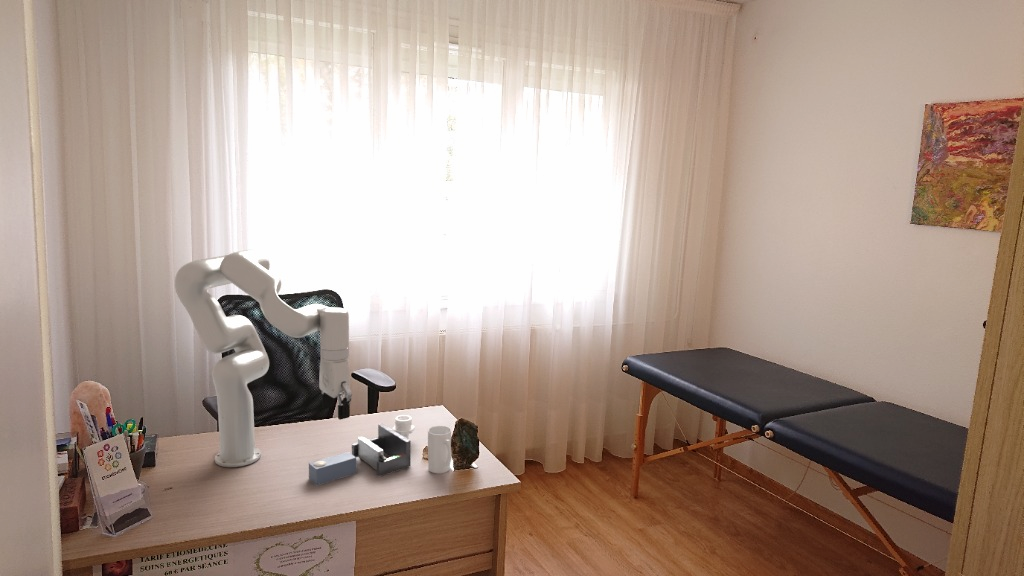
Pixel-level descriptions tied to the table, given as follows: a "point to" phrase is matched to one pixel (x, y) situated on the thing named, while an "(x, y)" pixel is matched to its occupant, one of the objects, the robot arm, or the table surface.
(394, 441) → the gauge frame
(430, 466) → the mug
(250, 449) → the robot arm
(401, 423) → the pipe fitting
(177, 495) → the table surface
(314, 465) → the block
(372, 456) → the anvil plate
